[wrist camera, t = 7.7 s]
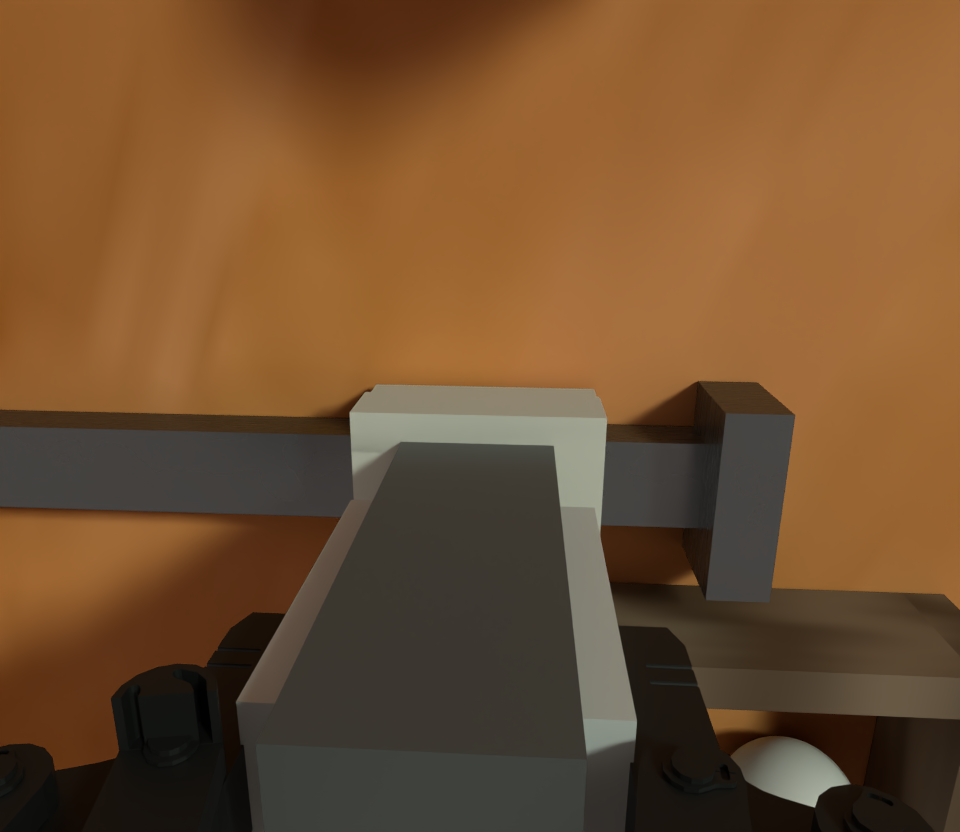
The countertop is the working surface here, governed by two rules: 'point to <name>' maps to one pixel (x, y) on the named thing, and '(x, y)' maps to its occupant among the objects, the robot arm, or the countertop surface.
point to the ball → (788, 768)
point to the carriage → (445, 625)
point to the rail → (329, 481)
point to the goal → (832, 671)
